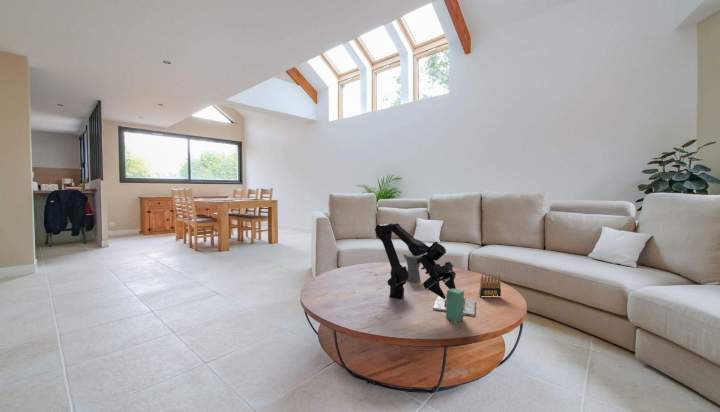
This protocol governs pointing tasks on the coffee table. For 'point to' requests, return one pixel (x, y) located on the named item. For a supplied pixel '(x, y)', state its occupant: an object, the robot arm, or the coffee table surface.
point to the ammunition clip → (490, 286)
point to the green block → (454, 304)
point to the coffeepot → (413, 267)
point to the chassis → (467, 305)
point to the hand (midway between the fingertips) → (451, 296)
